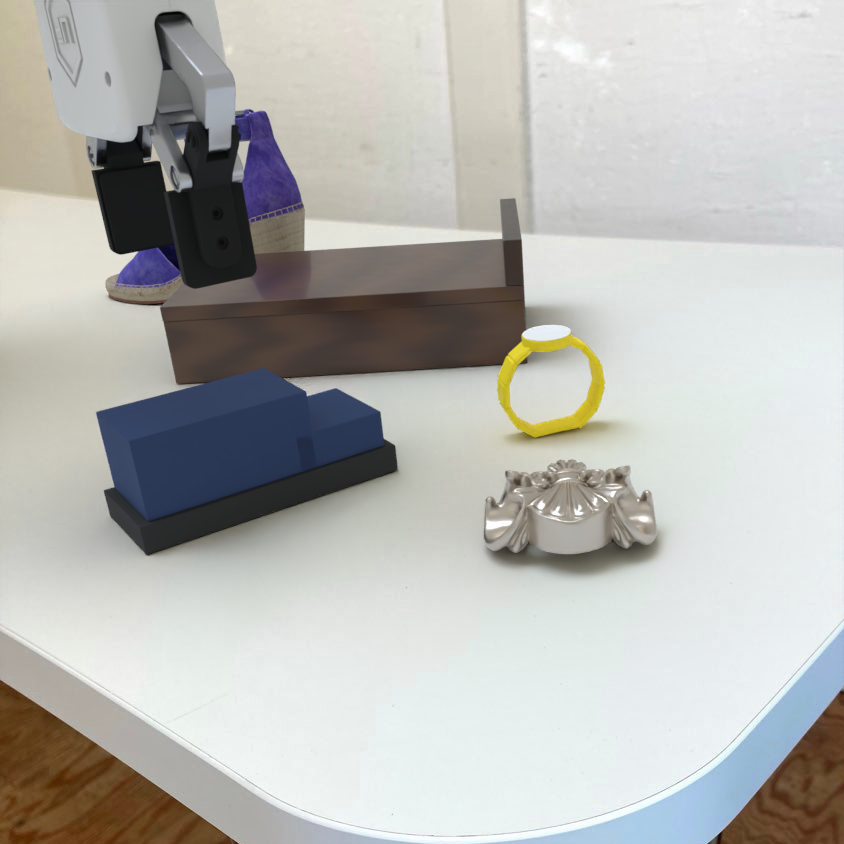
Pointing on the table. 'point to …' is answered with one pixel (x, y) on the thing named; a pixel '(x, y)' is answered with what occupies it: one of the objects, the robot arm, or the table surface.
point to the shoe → (233, 454)
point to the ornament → (569, 510)
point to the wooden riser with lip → (356, 310)
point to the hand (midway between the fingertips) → (180, 263)
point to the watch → (547, 341)
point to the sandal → (266, 206)
